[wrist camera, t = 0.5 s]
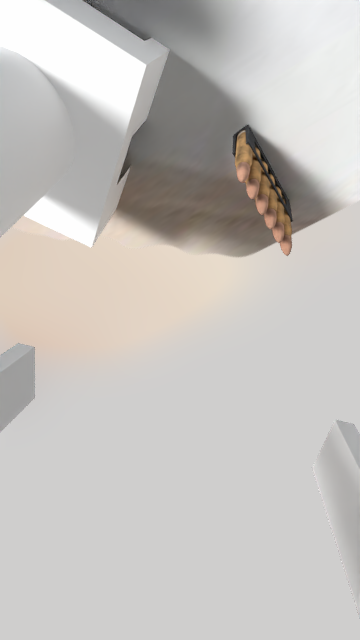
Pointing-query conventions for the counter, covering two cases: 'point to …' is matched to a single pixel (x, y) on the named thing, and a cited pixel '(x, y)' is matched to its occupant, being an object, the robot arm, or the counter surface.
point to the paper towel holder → (69, 112)
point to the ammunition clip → (263, 187)
